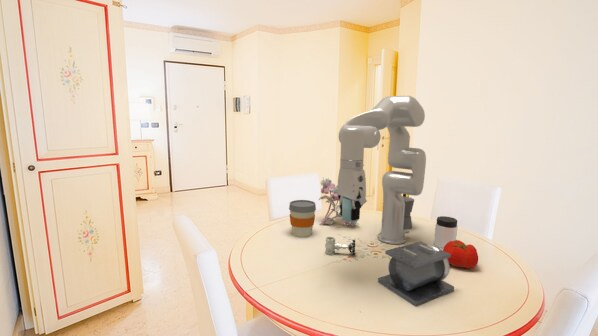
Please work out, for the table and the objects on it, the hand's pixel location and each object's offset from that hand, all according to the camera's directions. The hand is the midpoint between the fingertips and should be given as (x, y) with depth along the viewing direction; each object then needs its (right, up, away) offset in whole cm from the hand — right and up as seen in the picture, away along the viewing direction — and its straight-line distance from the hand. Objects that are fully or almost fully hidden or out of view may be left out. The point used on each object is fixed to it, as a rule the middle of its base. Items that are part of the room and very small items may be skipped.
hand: (349, 216), depth 110 cm
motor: (+21, -23, -2) cm, 31 cm away
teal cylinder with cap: (0, -1, 0) cm, 1 cm away
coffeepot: (+36, -14, +56) cm, 68 cm away
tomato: (+44, -21, +14) cm, 51 cm away
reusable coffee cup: (-16, -15, +44) cm, 49 cm away
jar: (+47, -18, +33) cm, 60 cm away
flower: (+5, -13, +58) cm, 59 cm away
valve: (-1, -19, +22) cm, 29 cm away
